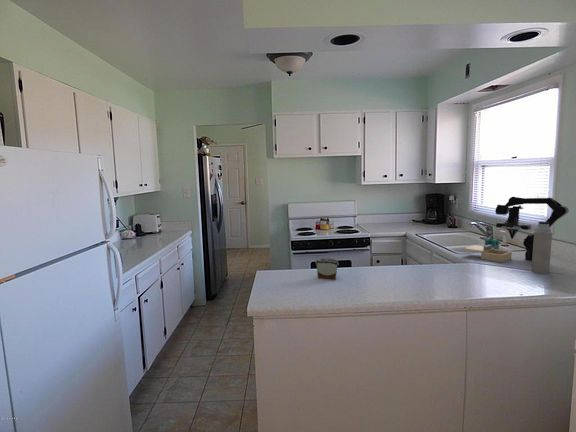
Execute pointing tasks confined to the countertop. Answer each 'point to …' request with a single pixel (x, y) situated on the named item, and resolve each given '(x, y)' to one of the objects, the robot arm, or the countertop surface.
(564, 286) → the countertop surface
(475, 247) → the carton lid
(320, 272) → the food container
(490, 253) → the carton
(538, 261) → the thermos bottle
